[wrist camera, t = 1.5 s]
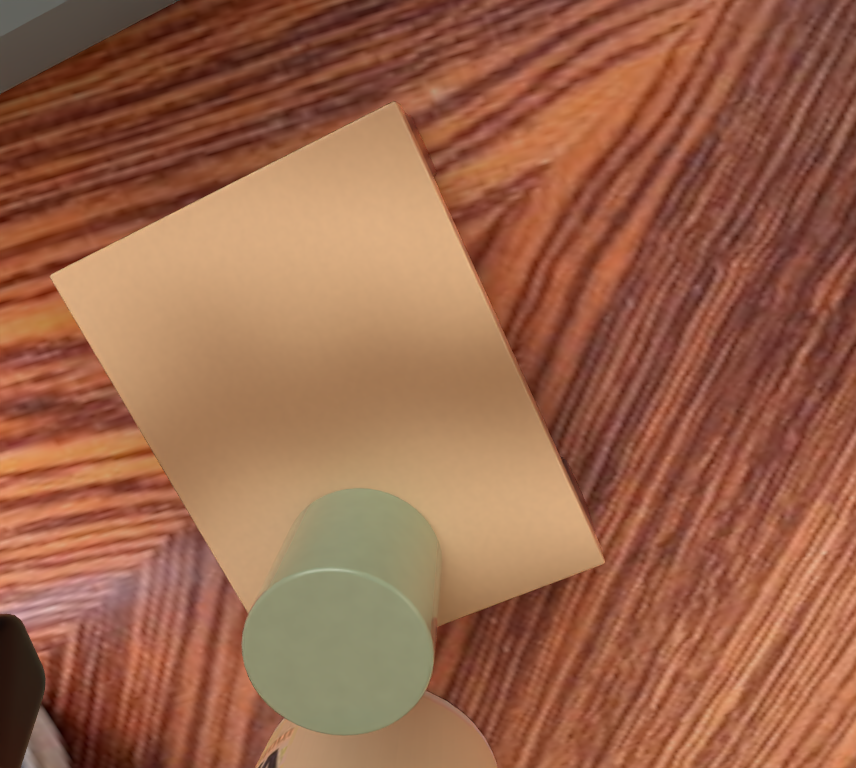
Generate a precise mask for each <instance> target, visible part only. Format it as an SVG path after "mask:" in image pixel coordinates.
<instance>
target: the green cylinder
mask: <svg viewBox="0 0 856 768" xmlns="http://www.w3.org/2000/svg"><path fill="white" fill-rule="evenodd" d="M441 579H442V552H441V548H440V544H439V541H438V539H437V537H436V534H435V532H434V530H433V529H432V527H431V525H430V524H429V523H428V521H427V520H426V519H425V518H424V516H423V515H422V514H421V513H419V512H418V511H417V510H416V509H415V508H414V507H413V506H411V505H410V504H409V503H407V502H405V501H404V500H402V499H400V498H399V497H396V496H394V495H392V494H389V493H386V492H383V491H379V490H374V489H365V488H354V489H345V490H340V491H335V492H333V493H330V494H327V495H325V496H323V497H321V498H319V499H317V500H315V501H314V502H312V503H311V504H310V505H308V506H307V507H306V508H305V509H304V510H303V511H302V512H301V513H300V514H299V516H298V517H297V518H296V519H295V521H294V523H293V524H292V526H291V528H290V530H289V532H288V534H287V536H286V538H285V540H284V542H283V544H282V546H281V548H280V550H279V552H278V554H277V556H276V558H275V560H274V562H273V564H272V566H271V568H270V570H269V572H268V574H267V577H266V579H265V581H264V583H263V585H262V587H261V589H260V591H259V593H258V595H257V597H256V599H255V601H254V603H253V605H252V607H251V609H250V611H249V613H248V616H247V618H246V621H245V624H244V628H243V632H242V656H243V661H244V665H245V669H246V671H247V674H248V677H249V679H250V681H251V683H252V685H253V687H254V688H255V690H256V691H257V692H258V694H259V695H260V697H261V698H262V699H263V700H264V701H265V702H266V703H267V704H268V705H269V706H270V707H271V708H272V709H273V710H274V711H275V712H277V713H278V714H279V715H281V716H282V717H284V718H285V719H287V720H289V721H290V722H292V723H294V724H296V725H298V726H301V727H303V728H306V729H308V730H311V731H315V732H319V733H323V734H329V735H341V736H347V735H359V734H365V733H370V732H373V731H377V730H380V729H382V728H385V727H387V726H389V725H391V724H393V723H394V722H396V721H398V720H400V719H401V718H402V717H403V716H405V715H406V714H407V713H408V712H409V711H410V710H411V709H412V708H413V707H414V706H415V705H416V704H417V703H418V702H419V700H420V699H421V698H422V696H423V695H424V693H425V691H426V689H427V687H428V685H429V683H430V680H431V677H432V673H433V667H434V660H435V648H436V637H437V625H438V613H439V602H440V590H441Z"/></svg>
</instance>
